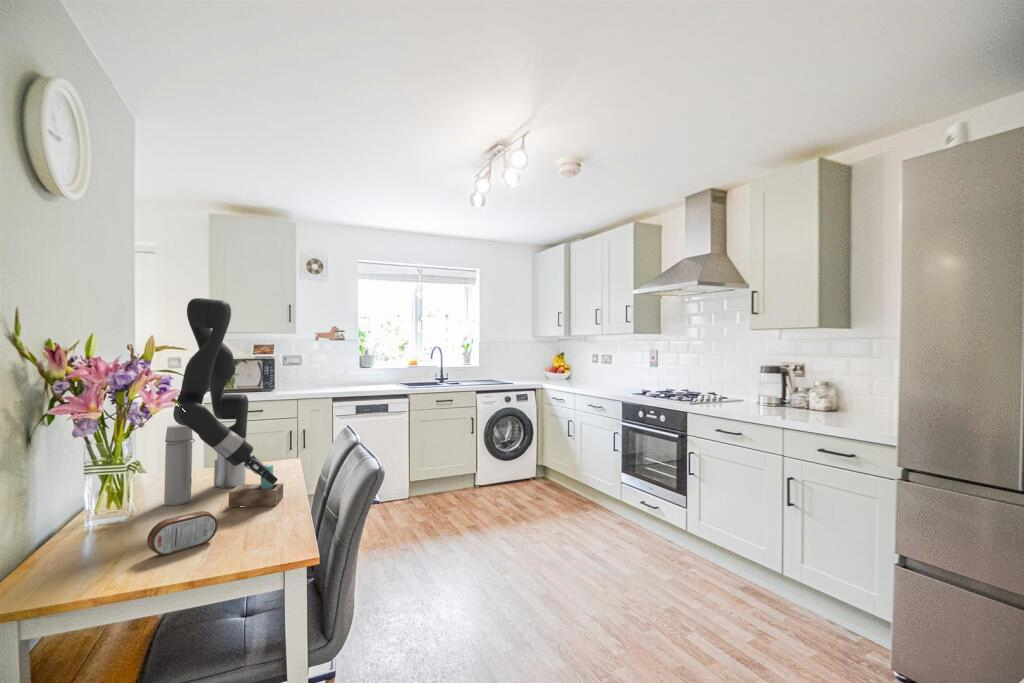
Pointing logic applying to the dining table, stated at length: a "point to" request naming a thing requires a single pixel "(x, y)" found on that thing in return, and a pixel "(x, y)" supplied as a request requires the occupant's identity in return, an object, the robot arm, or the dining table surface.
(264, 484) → the peg
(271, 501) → the socket
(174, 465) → the water bottle
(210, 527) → the tin
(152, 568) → the dining table surface
